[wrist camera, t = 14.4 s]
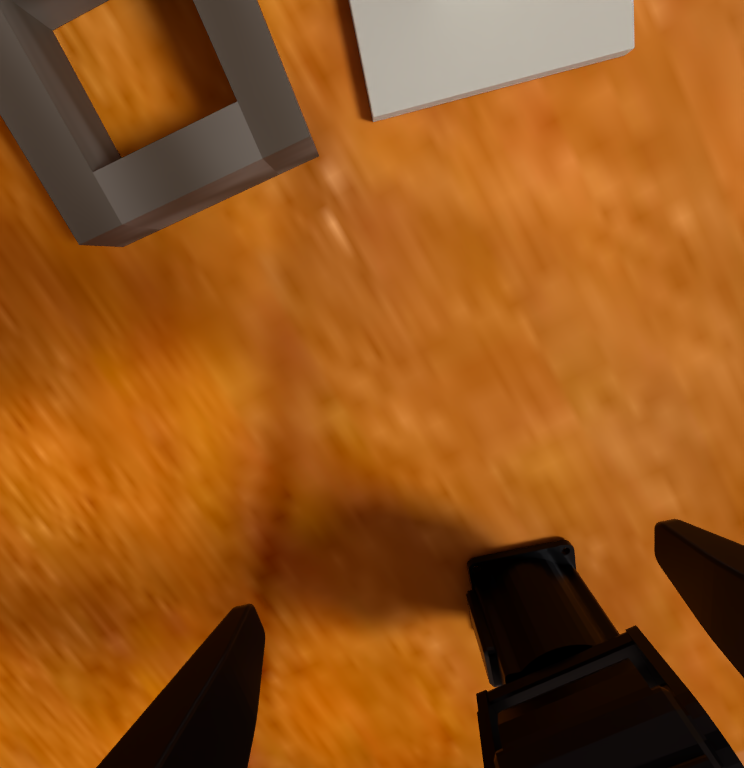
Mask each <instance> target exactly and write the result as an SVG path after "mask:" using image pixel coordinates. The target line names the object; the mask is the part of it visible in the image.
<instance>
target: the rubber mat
mask: <svg viewBox="0 0 744 768" xmlns="http://www.w3.org/2000/svg"><path fill="white" fill-rule="evenodd" d="M349 5H350V10H351V15H352V20H353V25H354V30H355V35H356V40H357V45H358V50H359V55H360V60H361V65H362V70H363V74H364V79H365V84H366V89H367V94H368V99H369V104H370V109H371V114H372V119H373V122H375V121H379V120H383V119H387V118H390V117H394V116H398V115H402V114H405V113H409V112H413V111H417V110H420V109H424V108H428V107H432V106H435V105H439V104H443V103H447V102H451V101H454V100H458V99H462V98H466V97H469V96H473V95H477V94H481V93H484V92H488V91H492V90H496V89H500V88H503V87H507V86H511V85H515V84H518V83H522V82H526V81H530V80H533V79H537V78H541V77H545V76H548V75H552V74H556V73H560V72H564V71H567V70H571V69H575V68H579V67H582V66H586V65H590V64H594V63H597V62H601V61H605V60H609V59H613V58H616V57H620V56H624V55H626V54H627V53H629V52H630V51H631V50H632V49H634V5H633V0H349Z"/></svg>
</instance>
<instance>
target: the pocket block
mask: <svg viewBox="0 0 744 768" xmlns="http://www.w3.org/2000/svg"><path fill="white" fill-rule="evenodd" d="M106 1H108V0H0V115H1V117H2V118H3V120H4V122H5V123H6V125H7V127H8V128H9V130H10V131H11V133H12V135H13V136H14V138H15V140H16V141H17V143H18V145H19V146H20V148H21V150H22V151H23V153H24V155H25V156H26V158H27V160H28V161H29V163H30V164H31V166H32V168H33V169H34V171H35V173H36V174H37V176H38V178H39V179H40V181H41V183H42V184H43V186H44V188H45V189H46V191H47V192H48V194H49V196H50V197H51V199H52V201H53V202H54V204H55V206H56V207H57V209H58V211H59V212H60V214H61V216H62V217H63V219H64V221H65V222H66V224H67V225H68V227H69V229H70V230H71V232H72V234H73V235H74V237H75V239H76V240H77V242H78V244H79V245H94V246H115V247H124V246H126V245H128V244H130V243H133V242H135V241H137V240H139V239H141V238H143V237H146V236H148V235H150V234H152V233H154V232H156V231H158V230H161V229H163V228H165V227H167V226H169V225H171V224H174V223H176V222H178V221H180V220H182V219H184V218H186V217H189V216H191V215H193V214H195V213H197V212H199V211H202V210H204V209H206V208H208V207H210V206H212V205H214V204H217V203H219V202H221V201H223V200H225V199H227V198H230V197H232V196H234V195H236V194H238V193H240V192H243V191H245V190H247V189H249V188H251V187H253V186H255V185H258V184H260V183H262V182H264V181H266V180H268V179H271V178H273V177H275V176H277V175H279V174H281V173H283V172H286V171H288V170H290V169H292V168H294V167H296V166H299V165H301V164H303V163H305V162H307V161H309V160H311V159H314V158H316V157H318V156H319V155H318V152H317V150H316V147H315V145H314V142H313V139H312V137H311V134H310V132H309V129H308V127H307V124H306V122H305V119H304V117H303V114H302V112H301V109H300V107H299V104H298V102H297V99H296V97H295V94H294V92H293V89H292V87H291V84H290V82H289V79H288V77H287V74H286V72H285V69H284V67H283V64H282V62H281V59H280V57H279V54H278V52H277V49H276V47H275V44H274V42H273V39H272V36H271V34H270V31H269V29H268V26H267V24H266V21H265V19H264V16H263V14H262V11H261V9H260V6H259V4H258V1H257V0H193V1H194V4H195V6H196V8H197V10H198V13H199V15H200V17H201V20H202V22H203V24H204V26H205V29H206V31H207V33H208V36H209V38H210V40H211V42H212V45H213V47H214V49H215V51H216V54H217V56H218V58H219V61H220V63H221V65H222V67H223V70H224V72H225V74H226V77H227V79H228V81H229V83H230V86H231V88H232V90H233V92H234V95H235V97H236V99H237V102H235V103H233V104H231V105H229V106H227V107H225V108H223V109H221V110H219V111H217V112H215V113H213V114H211V115H209V116H207V117H205V118H202V119H200V120H198V121H196V122H194V123H192V124H190V125H188V126H186V127H184V128H182V129H180V130H178V131H176V132H174V133H172V134H170V135H168V136H166V137H164V138H162V139H160V140H158V141H156V142H154V143H151V144H149V145H147V146H145V147H143V148H141V149H139V150H137V151H135V152H133V153H131V154H129V155H127V156H125V157H123V158H121V157H120V155H119V153H118V151H117V150H116V148H115V146H114V144H113V142H112V140H111V138H110V137H109V135H108V133H107V131H106V129H105V127H104V125H103V124H102V122H101V120H100V118H99V116H98V114H97V112H96V111H95V109H94V107H93V105H92V103H91V101H90V99H89V98H88V96H87V94H86V92H85V90H84V88H83V86H82V85H81V83H80V81H79V79H78V77H77V75H76V74H75V72H74V70H73V68H72V66H71V64H70V62H69V61H68V59H67V57H66V55H65V53H64V51H63V49H62V48H61V46H60V44H59V42H58V40H57V38H56V36H55V35H54V33H53V31H52V30H54V29H56V28H58V27H60V26H62V25H63V24H65V23H67V22H69V21H71V20H73V19H75V18H76V17H78V16H80V15H82V14H84V13H86V12H88V11H89V10H91V9H93V8H95V7H97V6H99V5H101V4H102V3H104V2H106Z"/></svg>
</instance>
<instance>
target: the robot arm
mask: <svg viewBox="0 0 744 768" xmlns="http://www.w3.org/2000/svg"><path fill="white" fill-rule="evenodd" d="M564 548H566V549H564ZM563 549H564V550H563ZM655 557H656V559H657V561H658V563H659V565H660V567H661V568H662V569H663V571H664V572H665V574H666V575H667V577H668V578H669V579H670V581H671V582H672V584H673V585H674V587H675V588H676V589H677V591H678V592H679V594H680V595H681V597H682V598H683V600H684V601H685V602H686V604H687V605H688V607H689V608H690V610H691V611H692V612H693V614H694V615H695V617H696V618H697V620H698V621H699V622H700V624H701V625H702V627H703V628H704V629H705V631H706V632H707V633H708V635H709V636H710V637H711V639H712V640H713V641H714V642H715V644H716V645H717V646H718V647H719V649H720V650H721V651H722V652H723V654H724V655H725V656H726V657H727V658H728V660H729V661H730V662H731V663H732V664H733V666H734V667H735V668H736V669H737V670H738V672H739V673H740V674H741V675H742V676H743V678H744V545H741V544H739V543H736V542H734V541H731V540H729V539H726V538H724V537H721V536H719V535H716V534H714V533H711V532H709V531H706V530H704V529H701V528H699V527H696V526H694V525H691V524H689V523H686V522H684V521H681V520H678V519H672V520H667V521H662V522H658V523H656V525H655ZM475 566H478V567H476V568H473V567H475ZM467 568H468V573H469V578H470V583H471V588H472V590H470V591H468V592H467V594H466V597H467V602H468V607H469V612H470V617H471V622H472V625H473V629H474V632H475V635H476V639H477V642H478V646H479V649H480V652H481V656H482V659H483V662H484V666H485V669H486V673H487V676H488V679H489V683H490V684H491V685H492V686H494V687H497V688H495V689H492V690H490V691H488V692H487V690H484V691H482V692H480V693H477V694H476V696H477V704H478V712H477V716H478V724H479V731H480V739H481V747H482V755H483V763H484V768H744V766H743V765H742V763H741V762H740V760H739V759H738V757H737V756H736V754H735V753H734V751H733V750H732V748H731V747H730V745H729V744H728V742H727V741H726V739H725V738H724V736H723V735H722V734H721V732H720V731H719V729H718V728H717V727H716V725H715V724H714V722H713V721H712V720H711V718H710V717H709V715H708V714H707V713H706V711H705V710H704V709H703V707H702V706H701V705H700V703H699V702H698V701H697V700H696V698H695V697H694V696H693V694H692V693H691V692H690V691H689V689H688V688H687V687H686V686H685V685H684V683H683V682H682V681H681V680H680V678H679V677H678V676H677V675H676V674H675V672H674V671H673V670H672V669H671V668H670V666H669V665H668V664H667V663H666V661H665V660H664V659H663V658H662V657H661V655H660V654H659V653H658V652H657V650H656V649H655V648H654V647H653V646H652V644H651V643H650V642H649V641H648V639H647V638H646V637H645V636H644V635H643V633H642V632H641V631H640V630H639V629H638V627H637V626H636V625H635V626H633V627H631V628H628V629H626V632H625V633H623V634H619V633H618V631H617V630H616V628H615V627H614V625H613V624H612V622H611V621H610V620H609V618H608V617H607V615H606V614H605V612H604V611H603V609H602V608H601V606H600V605H599V603H598V602H597V600H596V599H595V597H594V596H593V595H592V593H591V592H590V590H589V589H588V587H587V586H586V584H585V583H584V581H583V580H582V578H581V577H580V575H579V574H578V572H577V571H576V564H575V553H574V548H573V546H572V545H571V543H570V542H569V541H567V540H560V541H555V542H550V543H545V544H541V545H536V546H531V547H526V548H521V549H516V550H511V551H506V552H501V553H496V554H491V555H486V556H481V557H476V558H473V559H470V560H469V561H468V563H467ZM264 647H265V632H264V628H263V626H262V623H261V621H260V619H259V616H258V614H257V612H256V609H255V607H254V606H253V605H252V604H246V605H241V606H236V607H234V608H233V609H232V610H231V611H230V612H229V613H228V614H227V615H226V617H225V618H224V619H223V620H222V621H221V622H220V624H219V625H218V626H217V627H216V628H215V629H214V631H213V632H212V633H211V634H210V635H209V636H208V638H207V639H206V640H205V641H204V642H203V643H202V645H201V646H200V647H199V648H198V649H197V650H196V652H195V653H194V654H193V655H192V656H191V657H190V659H189V660H188V661H187V662H186V663H185V664H184V666H183V667H182V668H181V669H180V670H179V672H178V673H177V674H176V675H175V676H174V677H173V679H172V680H171V681H170V682H169V683H168V684H167V686H166V687H165V688H164V689H163V690H162V691H161V693H160V694H159V695H158V696H157V697H156V698H155V700H154V701H153V702H152V703H151V704H150V705H149V707H148V708H147V709H146V710H145V711H144V712H143V714H142V715H141V716H140V717H139V718H138V719H137V721H136V722H135V723H134V724H133V725H132V726H131V728H130V729H129V730H128V731H127V732H126V733H125V735H124V736H123V737H122V738H121V739H120V741H119V742H118V743H117V744H116V745H115V746H114V748H113V749H112V750H111V751H110V752H109V753H108V755H107V756H106V757H105V758H104V759H103V760H102V762H101V763H100V764H99V765H98V766H97V767H96V768H247V767H248V762H249V757H250V752H251V747H252V742H253V737H254V731H255V726H256V720H257V712H258V704H259V694H260V685H261V675H262V666H263V656H264ZM498 686H499V687H498Z"/></svg>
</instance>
